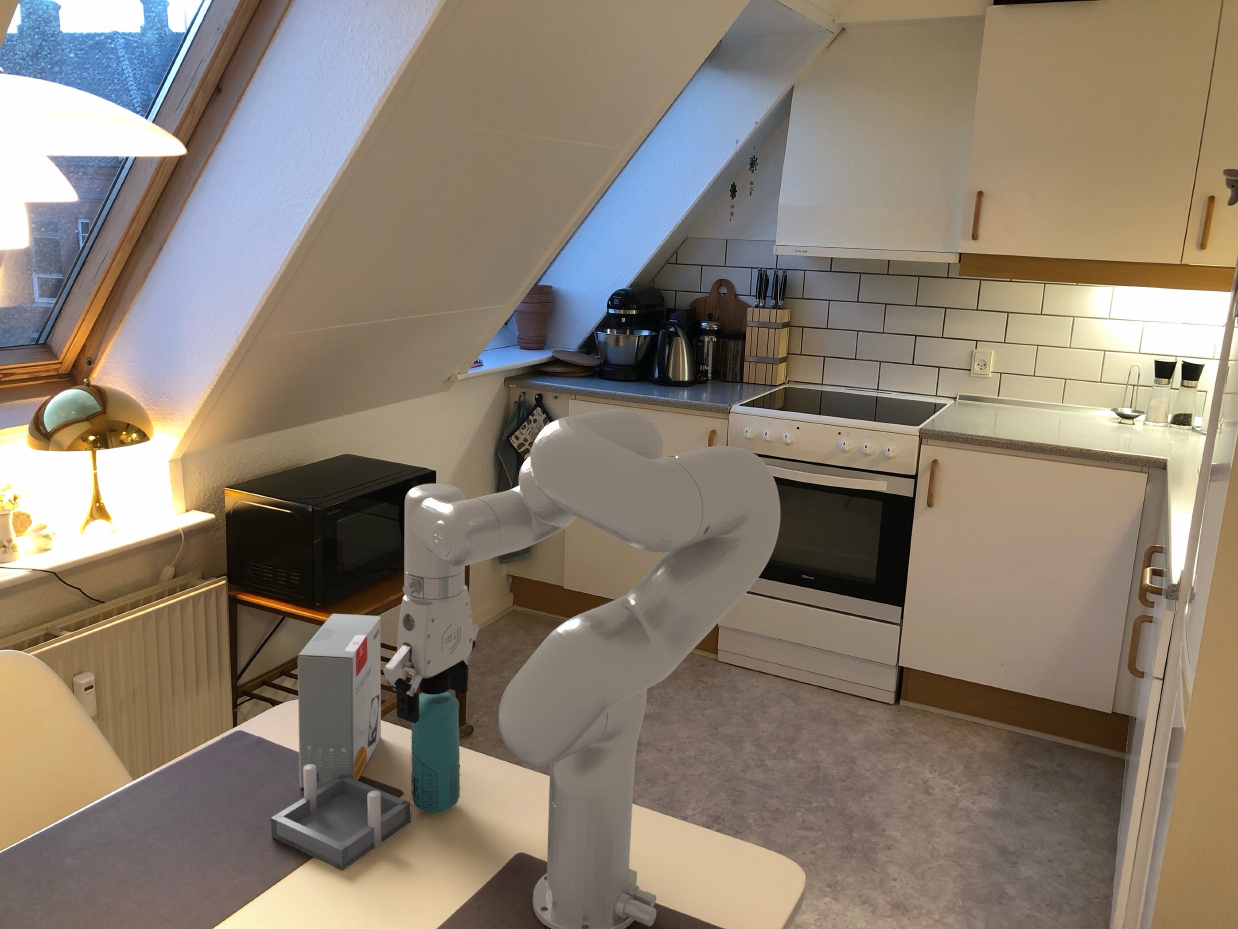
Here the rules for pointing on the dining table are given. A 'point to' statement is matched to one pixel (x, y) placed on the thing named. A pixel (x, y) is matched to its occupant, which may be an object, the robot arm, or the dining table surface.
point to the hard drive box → (340, 697)
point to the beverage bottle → (436, 746)
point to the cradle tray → (339, 819)
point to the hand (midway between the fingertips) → (433, 704)
